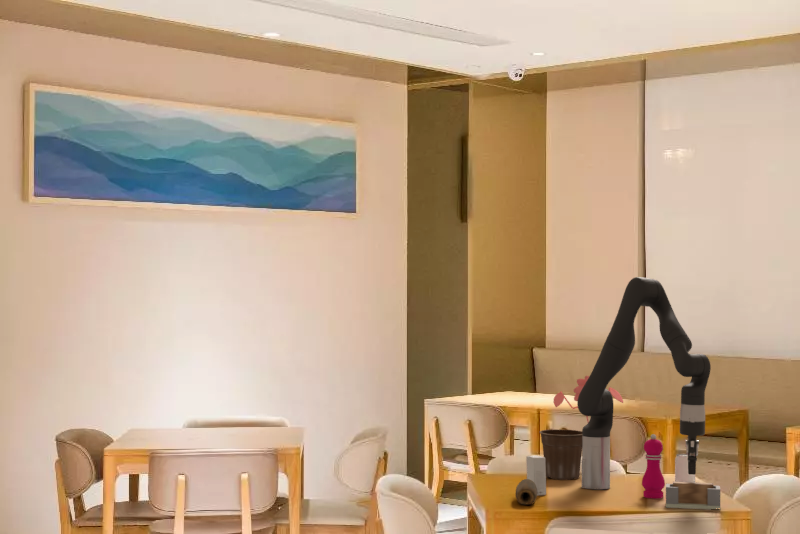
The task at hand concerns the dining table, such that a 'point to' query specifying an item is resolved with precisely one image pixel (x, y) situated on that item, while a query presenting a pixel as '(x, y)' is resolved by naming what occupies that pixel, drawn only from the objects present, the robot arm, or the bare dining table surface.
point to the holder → (673, 503)
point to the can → (682, 469)
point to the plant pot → (562, 453)
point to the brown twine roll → (526, 492)
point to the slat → (692, 492)
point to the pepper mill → (653, 469)
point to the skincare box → (537, 472)
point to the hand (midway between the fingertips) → (691, 472)
